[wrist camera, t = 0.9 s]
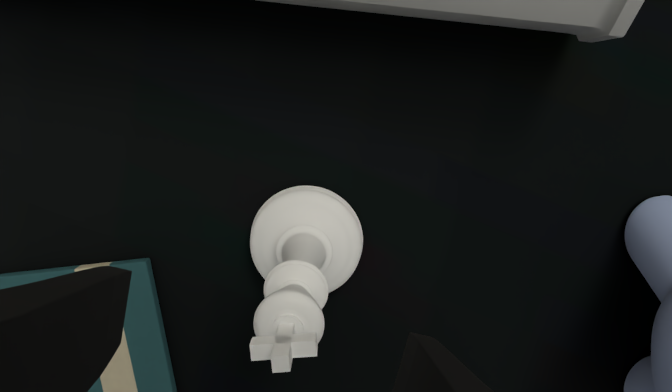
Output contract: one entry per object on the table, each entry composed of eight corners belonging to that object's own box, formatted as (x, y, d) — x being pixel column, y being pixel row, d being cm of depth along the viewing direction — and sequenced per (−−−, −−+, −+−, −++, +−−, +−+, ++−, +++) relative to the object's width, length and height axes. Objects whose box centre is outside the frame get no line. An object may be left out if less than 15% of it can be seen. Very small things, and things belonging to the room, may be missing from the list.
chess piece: (244, 190, 21) (164, 276, 12) (358, 180, 21) (375, 259, 11) (257, 296, 22) (194, 458, 13) (366, 288, 22) (388, 445, 12)
